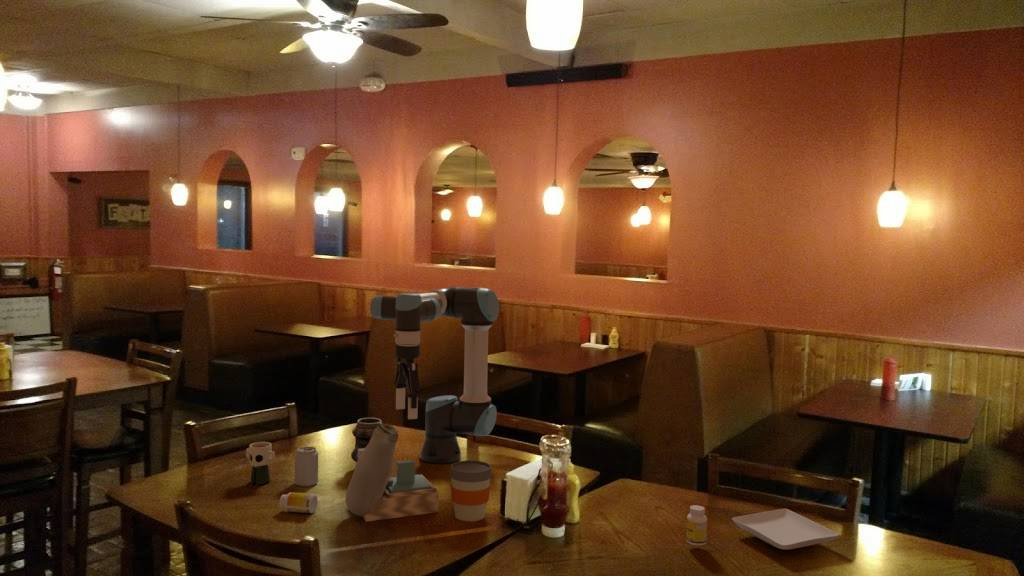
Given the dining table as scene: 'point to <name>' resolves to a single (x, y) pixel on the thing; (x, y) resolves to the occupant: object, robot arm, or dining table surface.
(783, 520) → the salad plate
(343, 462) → the dining table surface
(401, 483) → the cover
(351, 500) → the brown rounded cylinder
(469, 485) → the reusable coffee cup
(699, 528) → the supplement bottle
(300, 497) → the supplement bottle
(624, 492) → the dining table surface
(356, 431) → the apothecary jar
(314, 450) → the can
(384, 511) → the latch box
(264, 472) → the character mug
